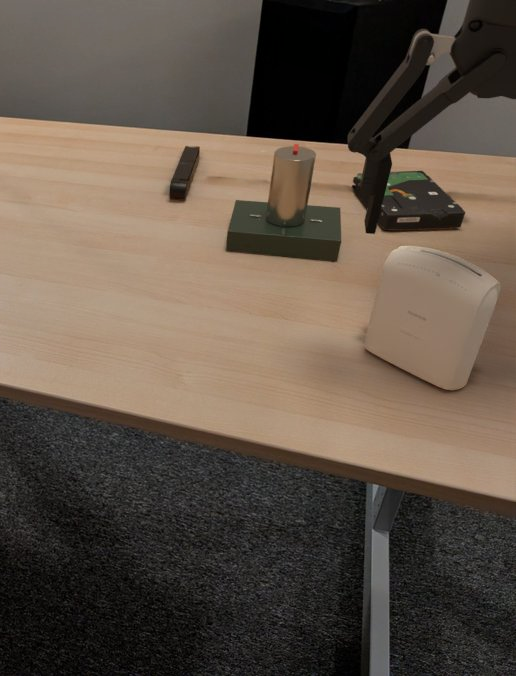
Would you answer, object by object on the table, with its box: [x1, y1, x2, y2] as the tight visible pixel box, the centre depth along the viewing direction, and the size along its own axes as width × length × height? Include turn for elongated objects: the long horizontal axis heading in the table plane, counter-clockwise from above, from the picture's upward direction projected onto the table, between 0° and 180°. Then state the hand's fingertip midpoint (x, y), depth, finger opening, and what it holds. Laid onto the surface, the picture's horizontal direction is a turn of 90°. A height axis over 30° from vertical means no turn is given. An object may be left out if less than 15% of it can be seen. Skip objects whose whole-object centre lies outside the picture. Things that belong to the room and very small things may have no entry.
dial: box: [266, 143, 317, 227], centre depth 84 cm, size 5×5×9 cm
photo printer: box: [363, 245, 501, 391], centre depth 62 cm, size 10×4×12 cm, turn 35°
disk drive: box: [351, 170, 466, 231], centre depth 94 cm, size 10×3×15 cm
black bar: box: [168, 145, 201, 201], centre depth 106 cm, size 18×3×3 cm, turn 163°
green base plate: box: [225, 199, 342, 262], centre depth 88 cm, size 14×10×3 cm
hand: (452, 234), depth 58 cm, fingers open, 13 cm apart
